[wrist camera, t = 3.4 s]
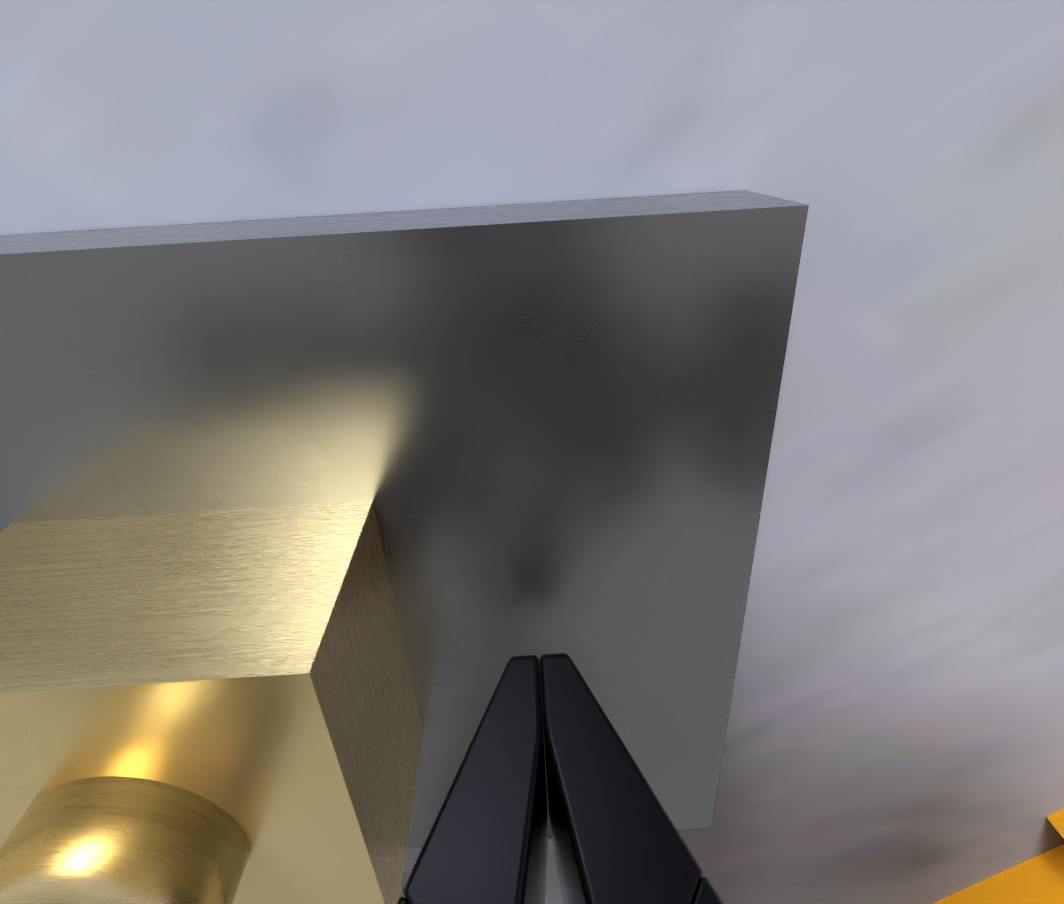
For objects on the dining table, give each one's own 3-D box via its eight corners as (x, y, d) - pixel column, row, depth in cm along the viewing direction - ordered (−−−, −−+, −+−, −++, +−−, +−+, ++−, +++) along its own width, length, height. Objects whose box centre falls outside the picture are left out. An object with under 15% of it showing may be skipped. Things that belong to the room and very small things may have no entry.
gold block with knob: (423, 735, 11) (362, 1163, 6) (142, 754, 11) (-120, 1197, 6) (372, 500, 8) (216, 922, 4) (11, 523, 8) (-567, 974, 4)
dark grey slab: (685, 740, 14) (713, 837, 12) (-336, 809, 14) (-472, 919, 12) (745, 189, 8) (817, 206, 6) (-982, 294, 8) (-1445, 343, 6)
